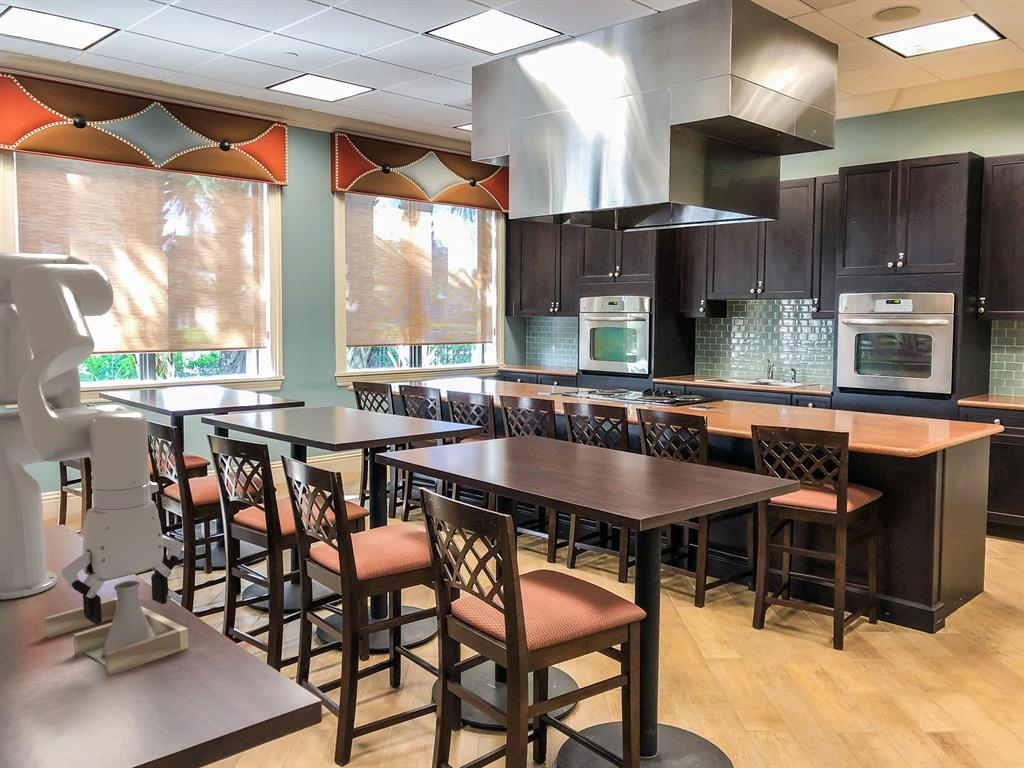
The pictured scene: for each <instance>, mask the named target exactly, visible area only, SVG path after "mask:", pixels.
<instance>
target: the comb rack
mask: <svg viewBox="0 0 1024 768" xmlns="http://www.w3.org/2000/svg"><path fill="white" fill-rule="evenodd" d="M116 604H117V596H116V597H112V598H110V599H109V598H108V599H105V600H101V616H102V622H103V623H104V622H106V621H109V620H113V618H114V615H115V611H116ZM141 608H142V610H143V612H144V614H145V617H146V619H147V621H148V623H149V625H150V627H151V629H152V631H153V632H154V634H155V637H152V638H149V639H146V640H143V641H140V642H137V643H134V644H131V645H128V646H125V647H122V648H119V649H116V650H113V651H110V652H107V653H105V655H106V656H105V655H103V654H102V651H103V648H104V645H105V642H106V639H107V636H108V634H109V631H110V628H111V624H112V622H110V623H106V624H102V625H99V626H97V627H94V628H89V629H87V630H83V631H81V632H77V633H73V646H74V647H73V648H74V655H75V656H78V657H79V656H81V655H87V656H88V657H90V658H92V660H95V661H96V662H98V663H99V664H102V665H103V666H104V667H106V668H105V669H106V675H108V676H110V677H111V676H113V675H116V674H119V673H122V672H124V671H128V670H131V669H133V668H136V667H138V666H139V667H140V666H142V665H144V664H147V663H150V662H153V661H155V660H158V659H161V658H165V657H166V656H169V655H172V654H173V655H174V654H175V653H179V652H182V651H185V650H187V649H189V647H190V646H189V628H187V627H185V626H183V625H181V624H179V623H177V622H175V621H173V620H172V619H171V620H170V619H169V618H166V617H165V616H163V615H160V614H159V613H156V612H154V611H152V610H150V609H149V608H146V607H144V606H142V605H141ZM102 622H101V623H102ZM93 625H94V626H95V625H96V624H95V623H93V622H91V621H89V620H88V619H87V618H86V617H85V616H84V606H81V607H77V608H74V609H70V610H67V611H64V612H63V611H62V612H59V613H56V614H53V615H49V616H45V617H44V627H45V637H46V638H48V639H51V638H53V637H57V636H60V635H63V634H68V633H70V632H73V631H76V630H81V629H83V628H86V627H90V626H93Z"/></svg>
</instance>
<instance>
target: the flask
mask: <svg viewBox="0 0 1024 768" xmlns="http://www.w3.org/2000/svg"><path fill="white" fill-rule="evenodd" d="M140 584H141V583H140V581H136V580H125V581H121V582H119V583H116V584H115V586H113V589H114V591H116V597H117V604H116V611H115V615H114V618H113V619H112V622H111V623H112V624H111V628H110V631H109V634H108V636H107V639H106V642H105V645H104V648H103V651H102V654H103V655H105V653H107V652H110V651H113V650H116V649H119V648H122V647H125V646H128V645H131V644H134V643H137V642H140V641H143V640H146V639H149V638H152V637H155V634H154V632H153V631H152V629H151V627H150V625H149V623H148V621H147V619H146V617H145V614H144V612H143V610H142V608H141V606H142V605H141V602H140V598H139V589H138V588H139V587H140ZM105 656H106V655H105Z"/></svg>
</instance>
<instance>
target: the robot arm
mask: <svg viewBox="0 0 1024 768" xmlns="http://www.w3.org/2000/svg"><path fill="white" fill-rule="evenodd" d="M113 302H114V290H113V286H112V283H111V280H110V279H109V277H108V275H107V274H106V272H105V271H104V270H103V269H102V267H100V266H98V265H96V264H94V263H91V262H88V261H86V260H83V259H81V258H79V257H76V256H73V255H68V254H67V255H66V254H53V253H51V254H50V253H29V252H28V253H27V252H26V253H25V252H0V406H4V407H5V406H16V405H17V411H6V412H0V600H10V599H18V598H22V597H29V596H32V595H35V594H39V593H41V592H44V591H46V590H48V589H50V588H52V587H54V586H55V585H56V584H57V581H58V575H57V574H56V573H55V572H53V571H50V570H47V557H46V542H45V527H44V526H45V525H44V524H45V522H44V512H43V511H44V509H43V507H44V506H43V497H42V495H43V494H42V489H41V486H40V483H39V482H38V481H37V480H36V478H34V477H33V476H32V475H31V474H30V473H29V472H27V471H26V469H25V466H27V465H31V464H37V463H43V462H49V463H55V462H56V463H57V462H64V461H71V460H78V459H85V458H90V468H91V470H90V471H91V485H92V486H91V487H92V505H93V506H92V508H88V509H87V510H86V516H85V522H84V528H83V537H82V538H83V539H82V554H81V555H80V556H79V557H77V558H76V559H74V560H73V561H72V562H70V563H69V564H68V565H66V566H65V567H64V568H63V569H62V570H61V572H60V574H61V576H62V577H63V578H64V580H65V581H66V583H68V586H69V587H70V588H71V589H73V590H75V591H77V592H78V593H79V594H81V595H82V602H83V606H82V607H84V616H85V617H86V618H87V619H88V620H89V621H91V622H93V623H95V624H94V625H99V624H101V623H102V616H101V601H102V600H101V599H102V598H101V597H100V595H98V592H99V590H101V587H102V586H103V584H105V582H107V581H112V580H115V579H121V578H124V577H128V576H132V575H135V574H138V573H142V572H146V571H149V570H152V571H153V572H154V573H153V574H152V573H151V577H150V579H151V581H150V582H151V599H152V601H155V602H157V603H159V604H161V605H164V604H167V603H168V596H169V577H170V576H171V574H172V570H173V569H174V567H175V566H176V564H177V563H178V562H179V557H180V555H181V553H182V550H183V548H184V544H183V542H180V541H178V540H175V539H171V538H167V537H164V536H163V532H162V527H161V526H162V525H161V520H160V517H159V513H158V509H157V506H156V502H155V501H154V500H151V499H153V495H152V494H154V493H156V492H158V491H159V490H160V489H159V484H158V483H157V482H152V481H151V478H150V476H151V475H150V456H149V439H148V438H149V436H148V435H149V434H148V422H147V418H146V416H145V414H144V413H141V412H140V411H135V410H130V409H128V408H127V407H125V406H124V405H121V404H115V403H111V404H110V403H109V404H98V405H84V406H83V405H81V404H82V403H81V401H82V400H81V377H80V371H79V368H78V366H79V365H81V364H82V363H84V362H85V361H87V360H88V359H89V358H90V357H91V356H92V354H93V352H94V350H95V341H94V338H93V335H92V334H91V331H90V329H89V328H90V327H89V326H88V323H87V321H86V318H85V317H99V316H100V317H101V316H103V315H105V314H107V313H108V312H109V311H111V308H112V305H113V304H114V303H113ZM164 548H168V554H167V555H166V556H164ZM82 570H83V573H84V574H85V575H87V576H86V578H85V579H84V580H83V581H81V580H80V579H79V577H78V574H79V572H80V571H82Z"/></svg>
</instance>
